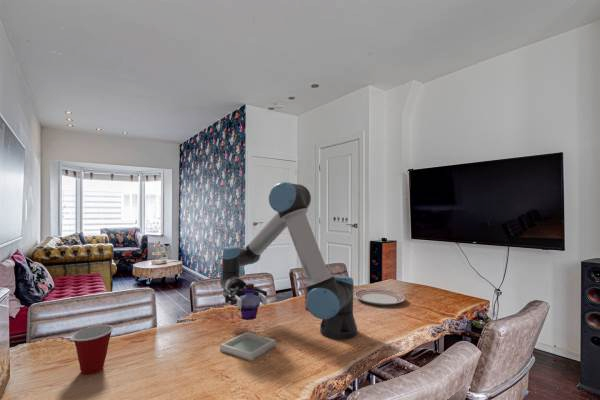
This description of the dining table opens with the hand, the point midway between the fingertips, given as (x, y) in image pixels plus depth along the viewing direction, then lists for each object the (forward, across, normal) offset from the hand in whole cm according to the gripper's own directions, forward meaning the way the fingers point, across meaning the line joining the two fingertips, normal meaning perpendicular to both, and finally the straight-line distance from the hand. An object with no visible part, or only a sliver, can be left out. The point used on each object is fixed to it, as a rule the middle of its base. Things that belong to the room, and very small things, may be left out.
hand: (253, 302), depth 111 cm
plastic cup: (-9, +48, -18) cm, 52 cm away
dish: (-5, 0, -18) cm, 18 cm away
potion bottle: (-5, 0, -7) cm, 8 cm away
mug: (-37, -43, -18) cm, 60 cm away
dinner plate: (-35, -85, -18) cm, 94 cm away
